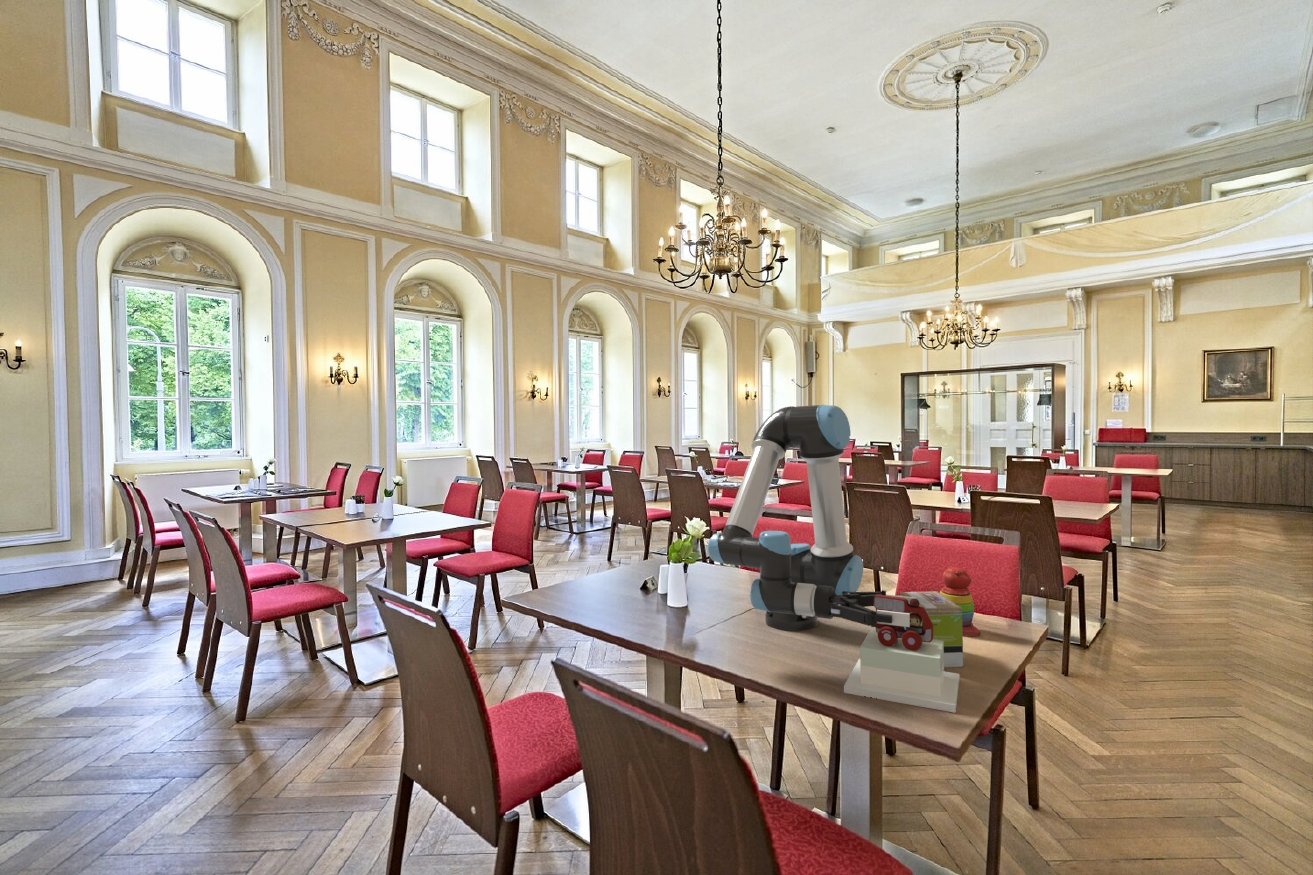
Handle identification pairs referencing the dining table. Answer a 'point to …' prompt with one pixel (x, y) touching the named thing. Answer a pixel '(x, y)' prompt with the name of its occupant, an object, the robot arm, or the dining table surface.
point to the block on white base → (904, 674)
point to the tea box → (943, 624)
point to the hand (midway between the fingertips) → (912, 611)
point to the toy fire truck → (912, 634)
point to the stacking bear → (960, 597)
